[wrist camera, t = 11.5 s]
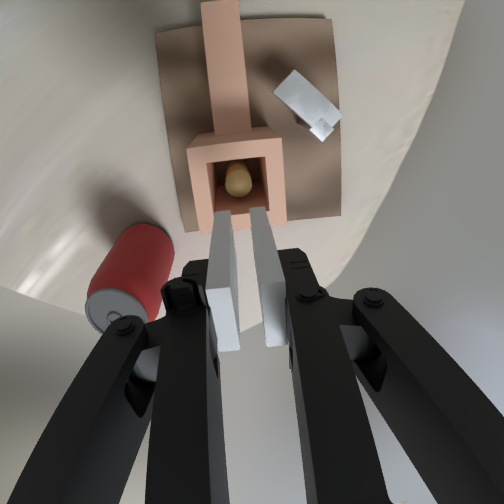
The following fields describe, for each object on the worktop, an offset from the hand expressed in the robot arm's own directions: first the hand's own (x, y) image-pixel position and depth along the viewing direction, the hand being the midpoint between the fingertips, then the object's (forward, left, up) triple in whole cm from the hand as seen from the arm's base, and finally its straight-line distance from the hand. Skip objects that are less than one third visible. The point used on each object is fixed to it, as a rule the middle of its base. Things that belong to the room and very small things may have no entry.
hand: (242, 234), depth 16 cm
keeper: (-6, +6, -16) cm, 18 cm away
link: (-6, 0, -15) cm, 16 cm away
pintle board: (-4, +2, -16) cm, 17 cm away
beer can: (+8, -11, -17) cm, 21 cm away
